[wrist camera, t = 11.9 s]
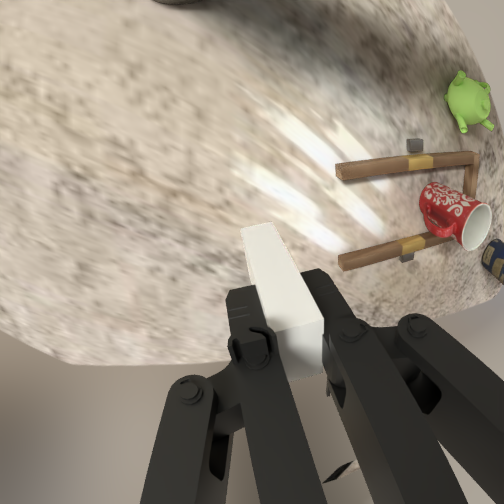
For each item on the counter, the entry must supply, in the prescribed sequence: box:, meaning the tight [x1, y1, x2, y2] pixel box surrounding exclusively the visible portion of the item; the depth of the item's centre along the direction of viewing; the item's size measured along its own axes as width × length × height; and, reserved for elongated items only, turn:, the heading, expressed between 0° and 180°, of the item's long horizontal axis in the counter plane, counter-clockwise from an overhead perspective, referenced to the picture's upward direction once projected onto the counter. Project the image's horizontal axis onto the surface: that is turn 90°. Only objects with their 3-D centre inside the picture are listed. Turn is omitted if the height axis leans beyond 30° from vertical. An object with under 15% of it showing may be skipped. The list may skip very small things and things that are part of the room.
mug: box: [419, 182, 492, 251], centre depth 43 cm, size 13×9×14 cm
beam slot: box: [335, 139, 480, 271], centre depth 48 cm, size 25×34×2 cm
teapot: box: [444, 70, 494, 133], centre depth 35 cm, size 11×12×8 cm
